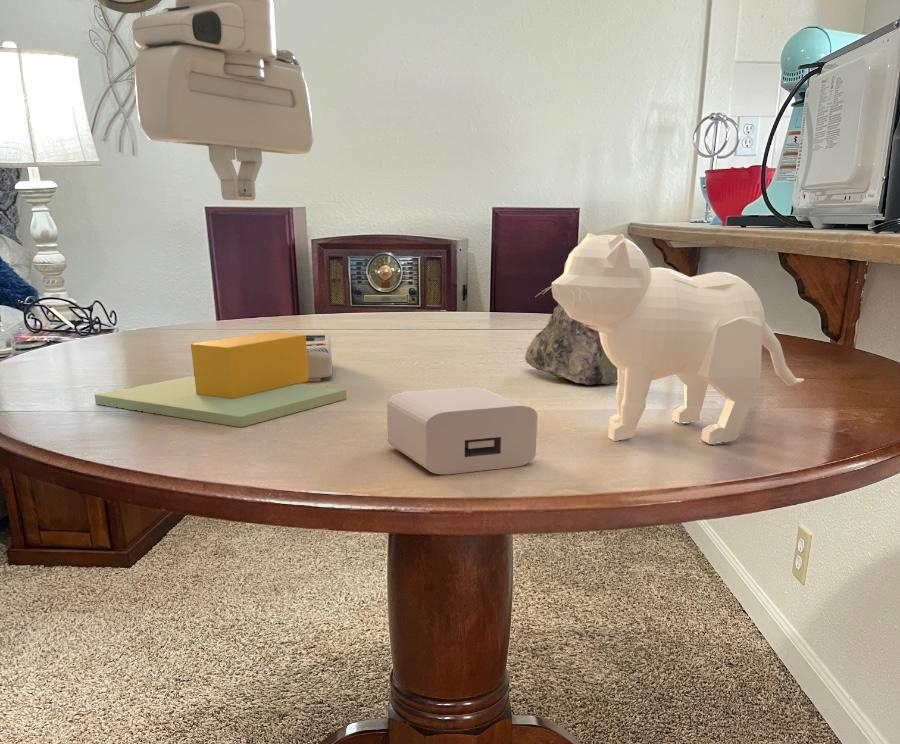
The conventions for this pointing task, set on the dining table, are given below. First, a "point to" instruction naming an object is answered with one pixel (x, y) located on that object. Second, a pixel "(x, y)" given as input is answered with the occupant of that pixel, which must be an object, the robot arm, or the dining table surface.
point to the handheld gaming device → (318, 356)
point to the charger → (461, 429)
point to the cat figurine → (669, 332)
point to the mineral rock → (570, 351)
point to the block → (249, 364)
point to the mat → (219, 401)
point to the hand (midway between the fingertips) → (239, 200)
